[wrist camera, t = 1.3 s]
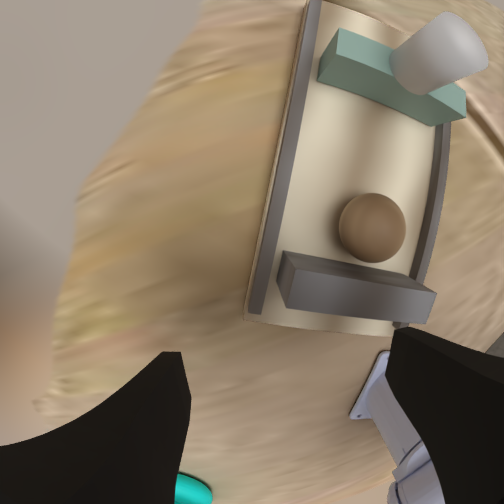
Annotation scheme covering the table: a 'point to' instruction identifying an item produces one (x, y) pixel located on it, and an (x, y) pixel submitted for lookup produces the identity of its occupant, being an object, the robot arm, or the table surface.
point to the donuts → (191, 491)
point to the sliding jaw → (409, 68)
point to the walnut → (372, 228)
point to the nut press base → (345, 197)
